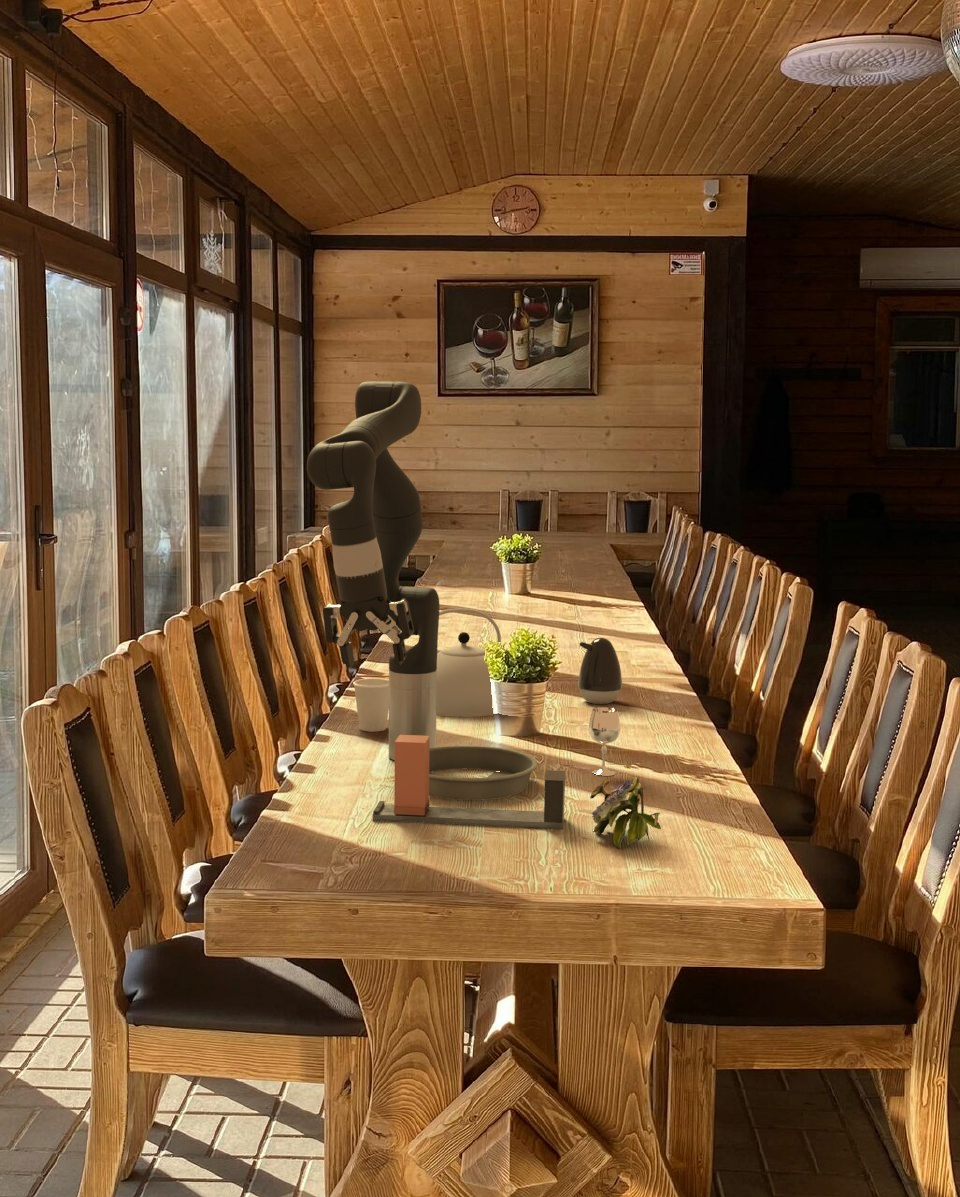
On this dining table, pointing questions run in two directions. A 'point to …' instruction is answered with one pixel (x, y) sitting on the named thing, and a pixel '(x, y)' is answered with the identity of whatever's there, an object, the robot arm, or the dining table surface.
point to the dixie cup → (372, 703)
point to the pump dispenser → (600, 672)
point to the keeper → (411, 775)
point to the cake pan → (496, 785)
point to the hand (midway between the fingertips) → (374, 664)
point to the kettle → (464, 677)
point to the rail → (492, 811)
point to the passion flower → (620, 802)
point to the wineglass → (604, 732)
